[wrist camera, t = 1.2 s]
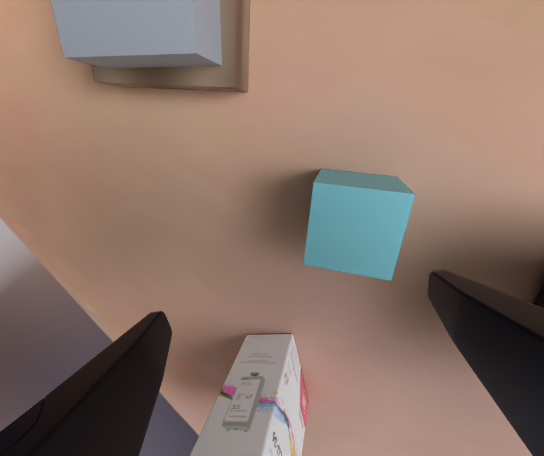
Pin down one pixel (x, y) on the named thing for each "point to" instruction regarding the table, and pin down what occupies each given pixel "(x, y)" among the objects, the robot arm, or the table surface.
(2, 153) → the table surface
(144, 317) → the robot arm
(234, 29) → the tan flat square block
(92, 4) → the grey slab
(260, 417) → the ink cartridge box
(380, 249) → the teal cube
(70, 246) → the table surface
